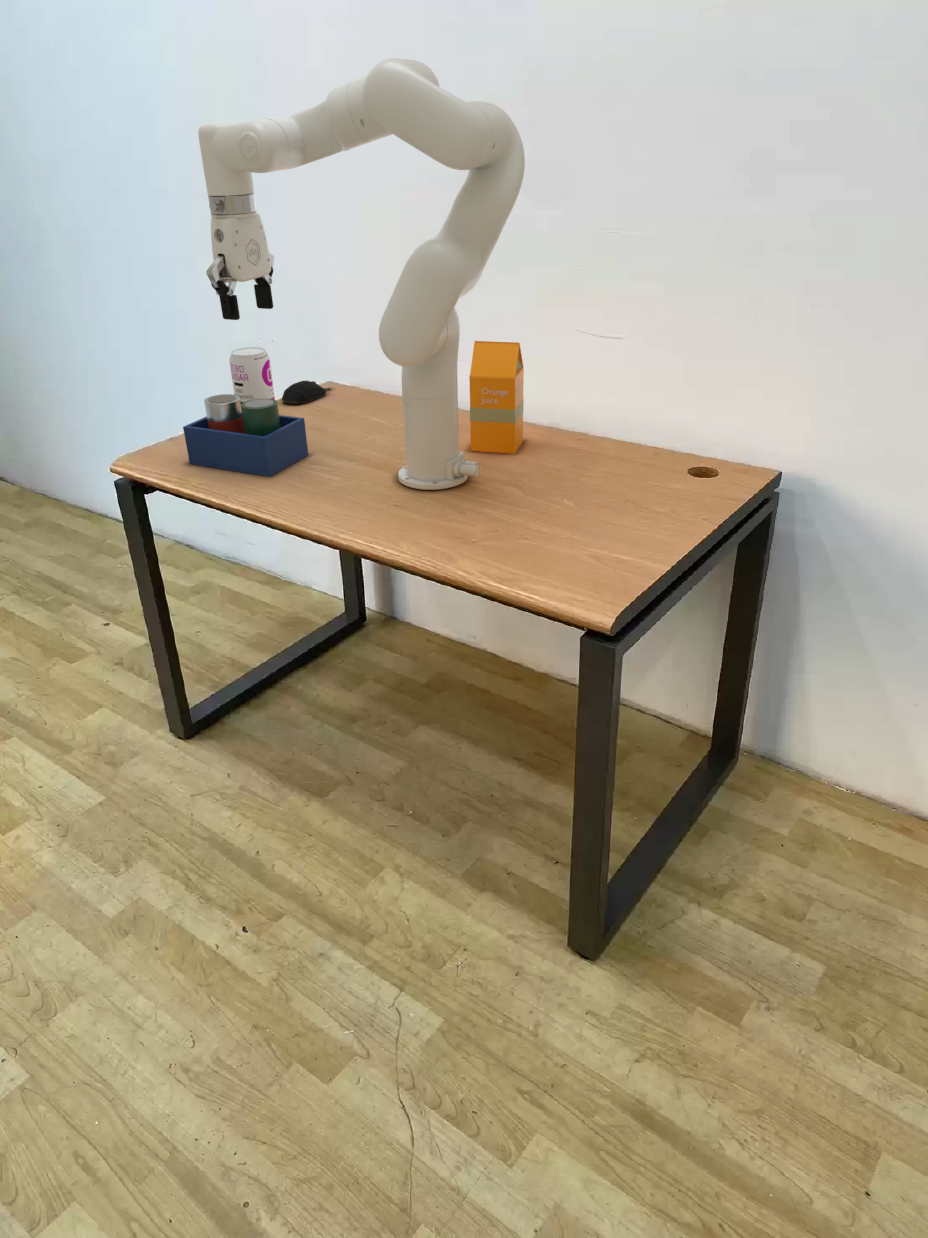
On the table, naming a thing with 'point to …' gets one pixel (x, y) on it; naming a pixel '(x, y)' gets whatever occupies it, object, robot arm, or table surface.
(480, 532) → the table surface
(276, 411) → the green can
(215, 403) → the silver can
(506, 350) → the orange juice
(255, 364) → the supplement can
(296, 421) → the blue storage box
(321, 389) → the gaming mouse
